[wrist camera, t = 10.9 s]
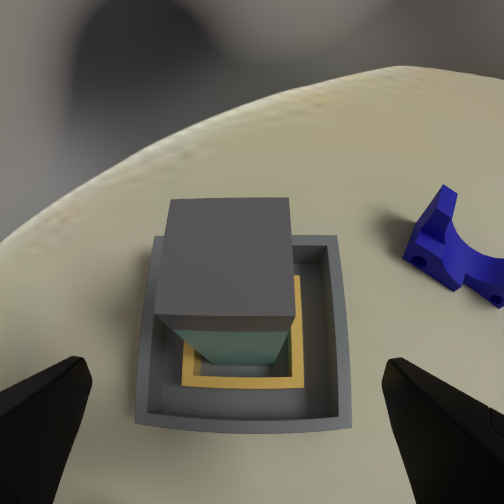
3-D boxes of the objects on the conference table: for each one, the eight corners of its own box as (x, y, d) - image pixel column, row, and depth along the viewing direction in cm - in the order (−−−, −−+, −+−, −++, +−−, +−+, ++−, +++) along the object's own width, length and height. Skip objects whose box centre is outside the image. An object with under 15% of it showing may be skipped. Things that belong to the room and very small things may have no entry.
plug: (273, 365, 20) (295, 315, 8) (214, 365, 20) (153, 313, 8) (272, 310, 22) (288, 197, 10) (216, 310, 22) (170, 199, 10)
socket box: (337, 423, 18) (351, 427, 15) (152, 420, 18) (134, 423, 15) (327, 257, 24) (336, 235, 21) (166, 257, 24) (154, 236, 21)
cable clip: (401, 259, 24) (432, 221, 19) (415, 223, 26) (443, 184, 20) (495, 322, 21) (536, 300, 15) (502, 284, 22) (539, 258, 17)
